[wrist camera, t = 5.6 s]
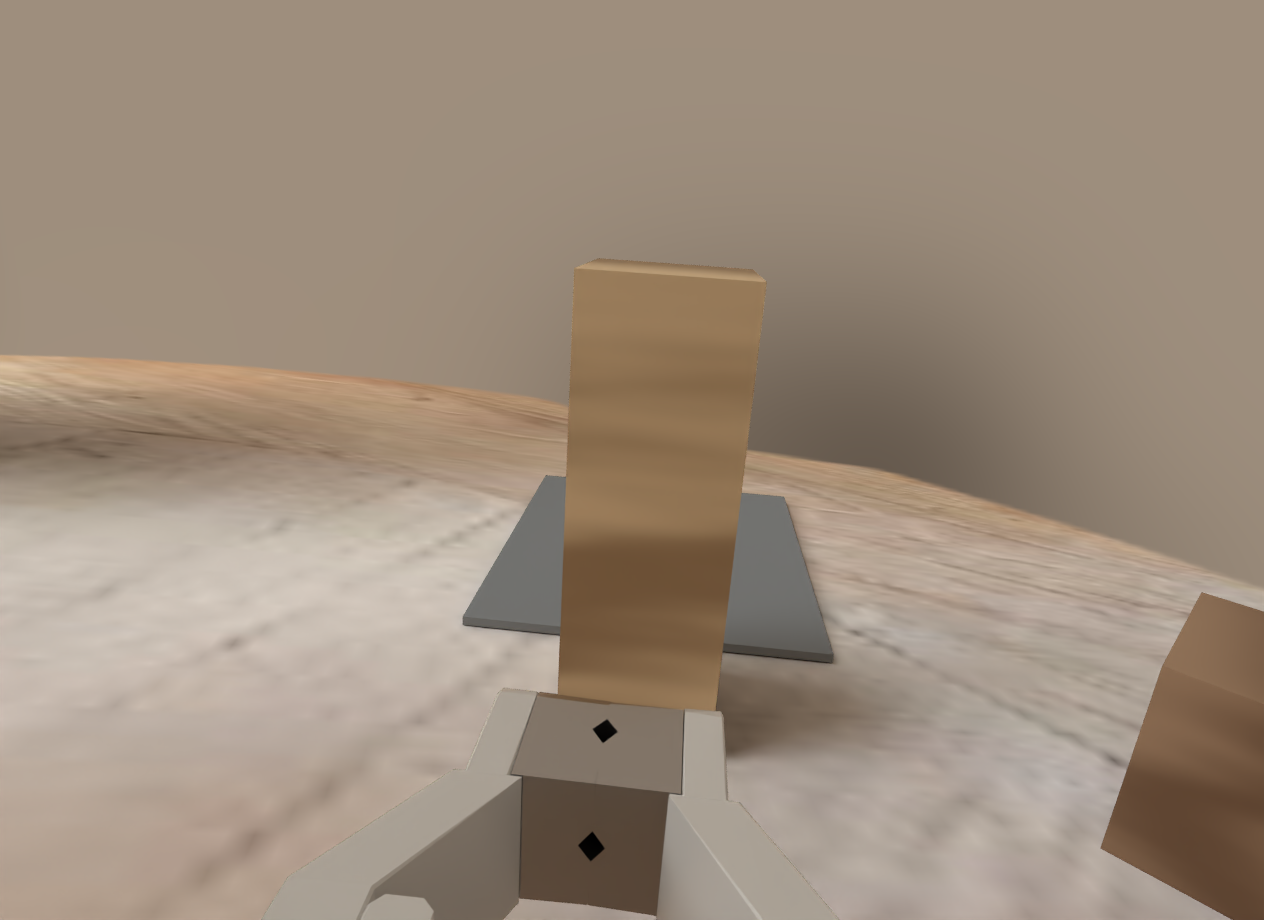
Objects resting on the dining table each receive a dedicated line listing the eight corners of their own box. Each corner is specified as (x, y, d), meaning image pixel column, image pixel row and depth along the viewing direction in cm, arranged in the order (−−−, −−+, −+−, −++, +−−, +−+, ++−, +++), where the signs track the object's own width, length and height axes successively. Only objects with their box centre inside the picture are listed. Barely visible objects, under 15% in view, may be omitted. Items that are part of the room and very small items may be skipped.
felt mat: (832, 662, 23) (833, 654, 23) (462, 624, 24) (462, 616, 24) (783, 502, 37) (784, 496, 37) (545, 480, 37) (545, 475, 37)
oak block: (709, 759, 19) (766, 282, 15) (556, 742, 19) (574, 268, 15) (707, 669, 23) (752, 269, 19) (579, 655, 23) (598, 258, 19)
